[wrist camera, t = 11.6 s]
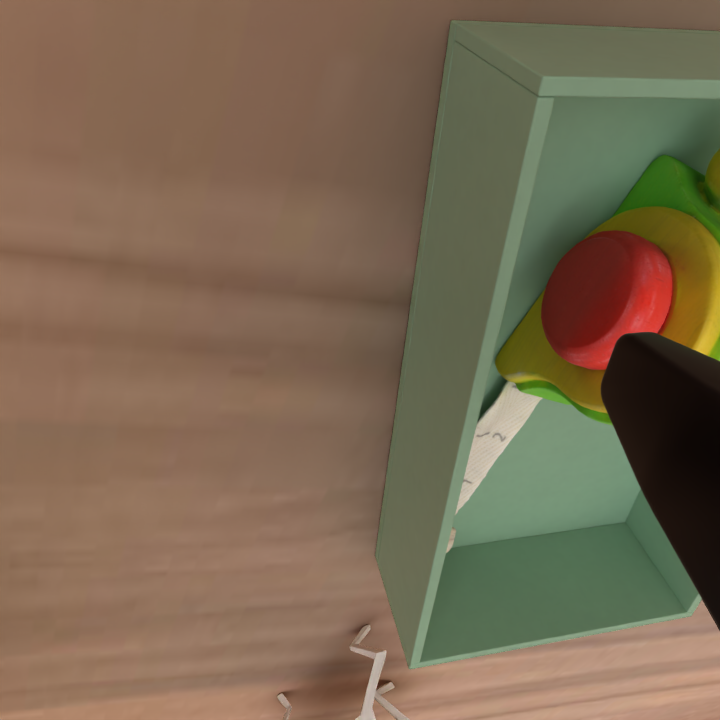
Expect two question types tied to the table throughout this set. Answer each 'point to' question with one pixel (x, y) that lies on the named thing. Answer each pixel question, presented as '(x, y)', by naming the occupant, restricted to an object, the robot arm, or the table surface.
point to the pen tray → (500, 319)
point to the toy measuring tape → (611, 304)
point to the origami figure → (372, 693)
